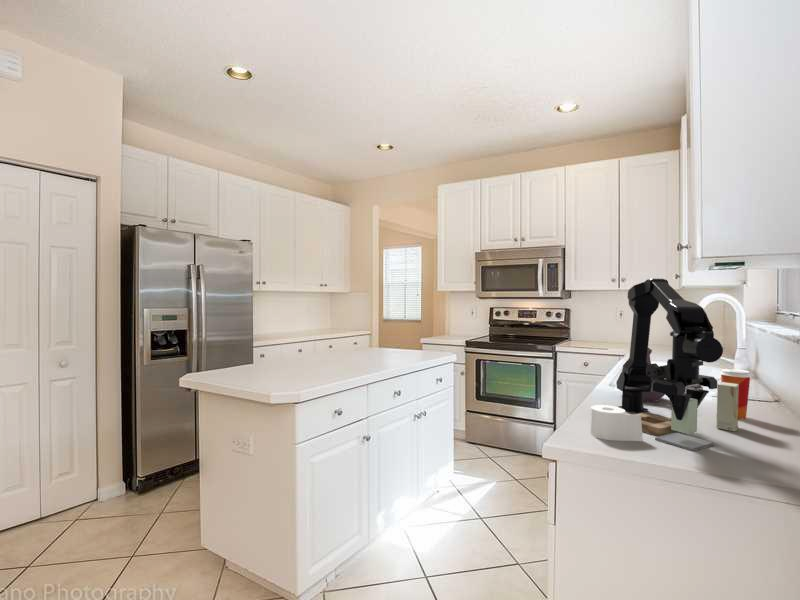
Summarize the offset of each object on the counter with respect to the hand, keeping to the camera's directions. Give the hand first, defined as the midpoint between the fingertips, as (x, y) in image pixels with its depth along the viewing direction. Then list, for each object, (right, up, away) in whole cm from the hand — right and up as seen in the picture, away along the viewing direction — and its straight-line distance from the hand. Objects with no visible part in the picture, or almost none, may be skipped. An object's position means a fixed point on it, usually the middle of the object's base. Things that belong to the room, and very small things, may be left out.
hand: (684, 418), depth 112 cm
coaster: (0, -6, 0) cm, 6 cm away
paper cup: (+31, -6, +25) cm, 40 cm away
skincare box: (+20, -6, +13) cm, 25 cm away
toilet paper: (-15, -6, +4) cm, 17 cm away
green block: (0, -3, 0) cm, 3 cm away
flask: (+15, -6, +47) cm, 50 cm away
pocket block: (-1, -6, +12) cm, 14 cm away
